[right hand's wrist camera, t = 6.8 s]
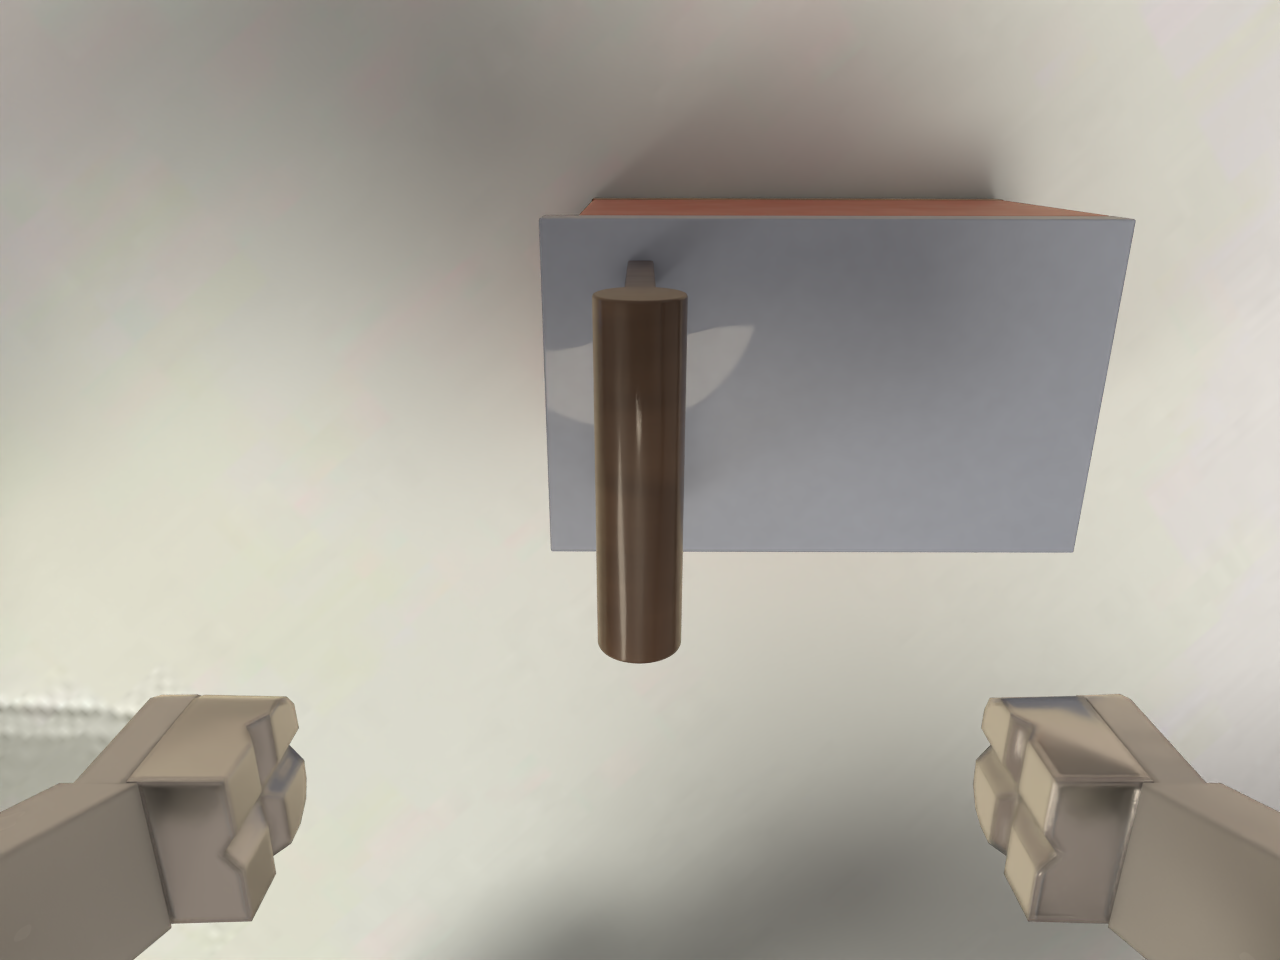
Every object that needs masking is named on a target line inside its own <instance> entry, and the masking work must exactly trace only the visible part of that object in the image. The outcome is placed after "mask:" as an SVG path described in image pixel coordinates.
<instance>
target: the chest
mask: <svg viewBox="0 0 1280 960" xmlns="http://www.w3.org/2000/svg"><path fill="white" fill-rule="evenodd" d="M580 215H743V216H1107V215H1100V214H1093V213H1086V212H1079V211H1073V210H1066V209H1059V208H1052V207H1045V206H1038V205H1031V204H1024V203H1017V202H1010V201H1003V200H1000V199H850V198H593V199H592V202H591V203H590V204H589V205H588V206H587V207H586V208H585V209H584V210H583V211H582V212H581V213H580Z"/></svg>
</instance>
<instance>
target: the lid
mask: <svg viewBox="0 0 1280 960" xmlns="http://www.w3.org/2000/svg"><path fill="white" fill-rule="evenodd" d="M1134 226H1135V220H1134V219H1129V218H1122V217H1116V216H743V215H544V216H543V217H541V218H540V219H539V236H540V263H541V290H542V318H543V345H544V372H545V400H546V427H547V454H548V482H549V509H550V537H551V550H552V551H596V560H597V618H598V644H599V647H600V648H601V650H602V651H603V652H604V653H605V654H606V655H608V656H609V657H611V658H613V659H616V660H619V661H623V662H628V663H651V662H656V661H660V660H663V659H666V658H668V657H670V656H671V655H673V654H674V653H675V652H676V651H677V650H678V648H679V646H680V644H681V615H682V565H683V551H685V552H1073V551H1074V545H1075V540H1076V535H1077V529H1078V524H1079V519H1080V513H1081V508H1082V503H1083V497H1084V492H1085V487H1086V481H1087V476H1088V471H1089V466H1090V460H1091V455H1092V450H1093V444H1094V439H1095V434H1096V428H1097V423H1098V418H1099V412H1100V407H1101V402H1102V396H1103V391H1104V386H1105V381H1106V375H1107V370H1108V365H1109V359H1110V354H1111V349H1112V343H1113V338H1114V333H1115V327H1116V322H1117V317H1118V311H1119V306H1120V301H1121V296H1122V290H1123V285H1124V280H1125V274H1126V269H1127V264H1128V258H1129V253H1130V248H1131V242H1132V237H1133V232H1134Z"/></svg>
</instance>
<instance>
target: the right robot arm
mask: <svg viewBox="0 0 1280 960" xmlns="http://www.w3.org/2000/svg"><path fill="white" fill-rule="evenodd" d="M298 729H299V726H298V721H297V716H296V711H295V706H294V703H293V702H292V701H291V700H290V699H289V698H288V697H284V696H236V695H203V696H201V695H159V696H156V697H153V698H150V699H149V700H148V701H147V702H146V703H145V705H144V706H143V707H142V708H141V709H140V710H139V711H138V712H137V713H136V715H135V716H134V717H133V718H132V719H131V720H130V721H129V722H128V723H127V724H126V726H125V727H124V728H123V729H122V730H121V731H120V732H119V733H118V734H117V736H116V737H115V738H114V739H113V740H112V741H111V742H110V743H109V744H108V745H107V747H106V748H105V749H104V750H103V751H102V752H101V753H100V754H99V755H98V757H97V758H96V759H95V760H94V761H93V762H92V763H91V764H90V765H89V767H88V768H87V769H86V770H85V771H84V772H83V773H82V774H81V775H80V776H79V778H78V779H77V780H76V781H75V782H74V783H59V784H57V785H55V786H53V787H51V788H49V789H47V790H44V791H42V792H40V793H38V794H36V795H34V796H32V797H30V798H28V799H26V800H24V801H22V802H20V803H18V804H16V805H14V806H12V807H10V808H8V809H6V810H4V811H2V812H0V960H133V959H135V958H136V957H137V956H138V955H139V954H141V953H142V952H143V951H144V950H145V949H147V948H148V947H149V946H150V945H151V944H153V943H154V942H155V941H156V940H158V939H159V938H160V937H161V936H162V935H164V934H165V933H166V932H167V931H168V930H170V929H171V924H173V923H208V922H242V921H252V920H253V918H254V916H255V914H256V912H257V910H258V908H259V906H260V904H261V902H262V900H263V898H264V896H265V894H266V892H267V890H268V888H269V887H270V885H271V883H272V881H273V879H274V877H275V875H276V869H275V864H274V858H273V856H274V855H275V854H277V853H278V852H280V851H281V850H282V849H284V848H285V847H287V846H288V845H290V844H291V843H292V841H293V839H294V837H295V834H296V832H297V830H298V828H299V826H300V824H301V820H302V815H303V811H304V806H305V802H306V780H307V778H306V771H305V764H304V760H303V759H302V758H301V757H300V755H299V754H298V753H297V752H296V751H295V750H294V749H293V748H292V747H291V746H290V745H289V744H290V743H291V741H292V739H293V737H294V736H295V734H296V732H297V730H298ZM981 729H982V730H983V732H984V734H985V736H986V737H987V739H988V741H989V743H990V744H991V745H990V746H989V747H988V748H987V749H986V750H985V751H984V752H983V753H982V754H981V755H980V757H979V758H978V759H977V760H976V765H975V773H974V781H973V789H974V799H975V809H976V812H977V816H978V819H979V823H980V826H981V828H982V830H983V832H984V835H985V837H986V839H987V841H988V843H989V844H990V845H992V846H993V847H995V848H996V849H998V850H999V851H1000V852H1002V853H1003V854H1005V855H1006V856H1007V858H1006V864H1005V869H1004V875H1005V877H1006V879H1007V881H1008V883H1009V885H1010V886H1011V888H1012V890H1013V892H1014V894H1015V896H1016V898H1017V900H1018V902H1019V904H1020V906H1021V908H1022V910H1023V912H1024V914H1025V916H1026V918H1027V920H1028V921H1036V922H1071V923H1107V924H1109V926H1108V927H1109V928H1110V929H1111V930H1112V931H1113V932H1115V933H1116V934H1117V935H1118V936H1119V937H1121V938H1122V939H1123V940H1124V941H1125V942H1127V943H1128V944H1129V945H1130V946H1131V947H1133V948H1134V949H1135V950H1136V951H1137V952H1139V953H1140V954H1141V955H1142V956H1143V957H1145V958H1146V959H1147V960H1280V812H1278V811H1276V810H1274V809H1272V808H1270V807H1268V806H1266V805H1264V804H1262V803H1260V802H1258V801H1256V800H1254V799H1252V798H1250V797H1248V796H1246V795H1244V794H1242V793H1240V792H1238V791H1236V790H1233V789H1231V788H1229V787H1227V786H1225V785H1223V784H1221V783H1206V782H1205V781H1204V780H1203V779H1202V778H1201V776H1200V775H1199V774H1198V773H1197V772H1196V771H1195V770H1194V769H1193V768H1192V767H1191V765H1190V764H1189V763H1188V762H1187V761H1186V760H1185V759H1184V758H1183V757H1182V755H1181V754H1180V753H1179V752H1178V751H1177V750H1176V749H1175V748H1174V747H1173V745H1172V744H1171V743H1170V742H1169V741H1168V740H1167V739H1166V738H1165V737H1164V736H1163V734H1162V733H1161V732H1160V731H1159V730H1158V729H1157V728H1156V727H1155V726H1154V724H1153V723H1152V722H1151V721H1150V720H1149V719H1148V718H1147V717H1146V716H1145V714H1144V713H1143V712H1142V711H1141V710H1140V709H1139V708H1138V707H1137V706H1136V705H1135V703H1134V702H1133V701H1132V700H1131V699H1129V698H1127V697H1125V696H1123V695H1121V694H1106V695H1077V696H1062V697H1007V698H990V699H989V701H988V703H987V705H986V707H985V709H984V714H983V720H982V726H981Z"/></svg>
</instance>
